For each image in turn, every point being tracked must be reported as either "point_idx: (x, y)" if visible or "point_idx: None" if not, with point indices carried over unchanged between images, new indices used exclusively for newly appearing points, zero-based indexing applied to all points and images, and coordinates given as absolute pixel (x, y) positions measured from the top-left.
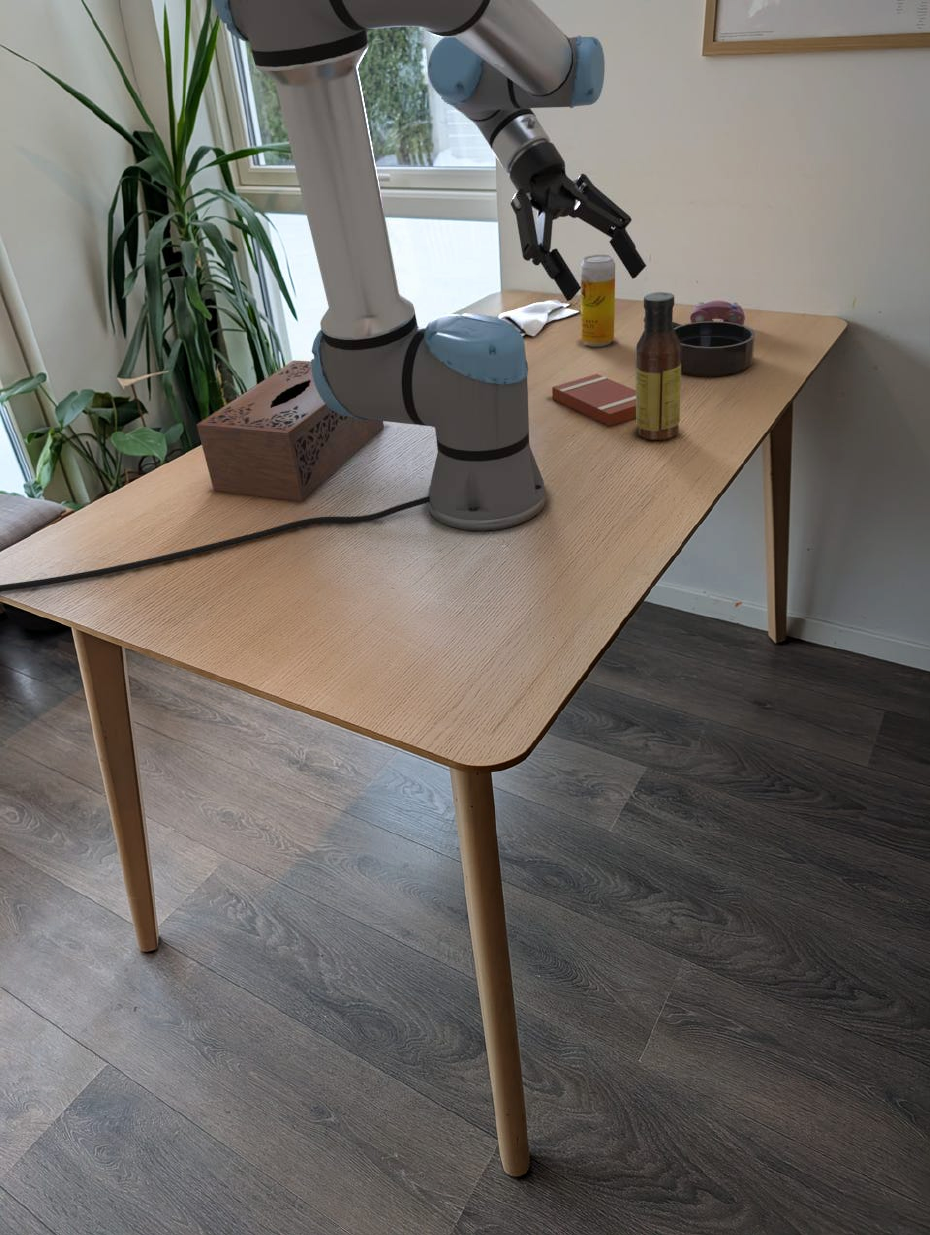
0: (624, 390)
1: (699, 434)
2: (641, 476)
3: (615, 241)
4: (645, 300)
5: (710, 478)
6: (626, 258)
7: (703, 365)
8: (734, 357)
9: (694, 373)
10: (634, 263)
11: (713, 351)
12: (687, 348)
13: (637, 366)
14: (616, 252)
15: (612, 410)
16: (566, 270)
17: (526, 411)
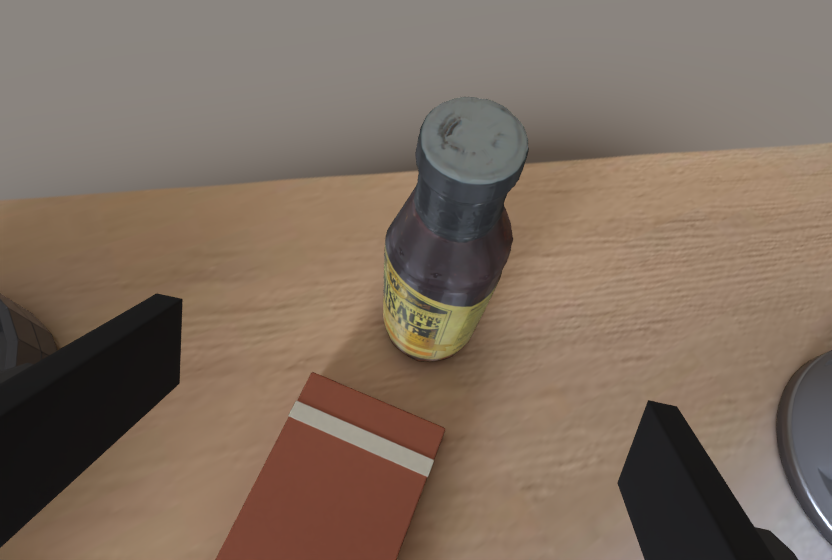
0: (285, 474)
1: None
2: (607, 269)
3: (10, 492)
4: (520, 168)
5: (546, 178)
6: (119, 402)
7: None
8: (9, 299)
9: None
10: (155, 349)
11: (20, 332)
12: None
13: (485, 294)
14: (61, 486)
15: (422, 433)
16: (719, 483)
17: None
